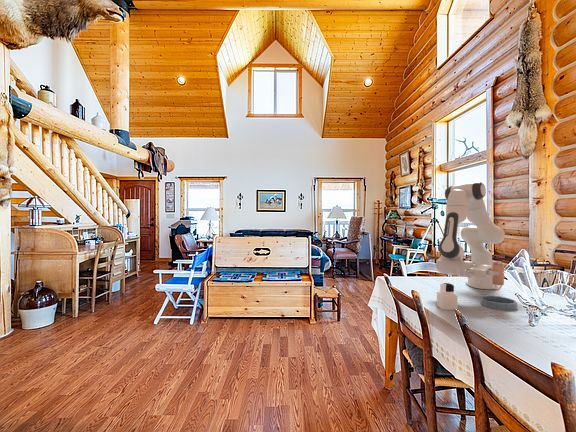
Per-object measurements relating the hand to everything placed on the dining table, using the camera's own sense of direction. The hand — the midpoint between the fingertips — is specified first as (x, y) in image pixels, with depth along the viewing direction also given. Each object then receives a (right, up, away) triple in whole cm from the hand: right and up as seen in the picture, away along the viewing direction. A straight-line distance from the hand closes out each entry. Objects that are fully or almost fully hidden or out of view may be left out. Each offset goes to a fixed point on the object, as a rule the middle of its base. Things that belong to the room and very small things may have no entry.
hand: (500, 272), depth 154 cm
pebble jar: (-1, -6, +1) cm, 6 cm away
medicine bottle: (-29, -17, -3) cm, 33 cm away
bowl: (-1, -17, +1) cm, 17 cm away
